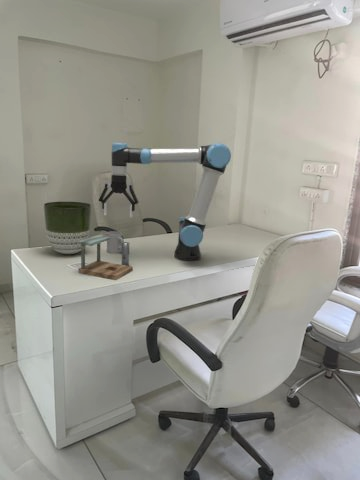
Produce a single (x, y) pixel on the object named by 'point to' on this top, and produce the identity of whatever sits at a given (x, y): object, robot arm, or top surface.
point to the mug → (114, 242)
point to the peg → (125, 253)
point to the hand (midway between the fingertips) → (118, 216)
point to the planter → (67, 225)
